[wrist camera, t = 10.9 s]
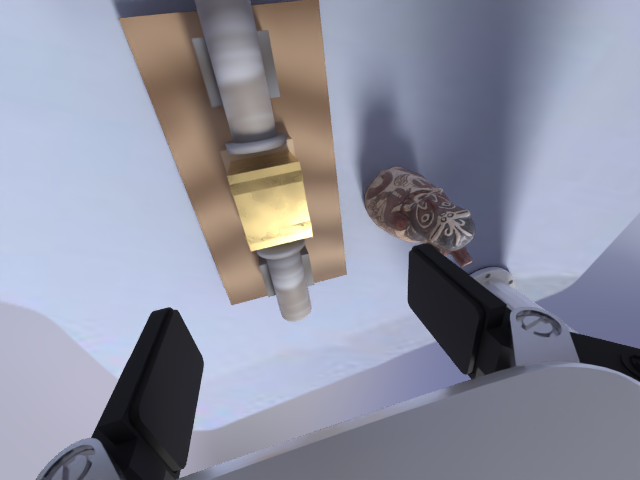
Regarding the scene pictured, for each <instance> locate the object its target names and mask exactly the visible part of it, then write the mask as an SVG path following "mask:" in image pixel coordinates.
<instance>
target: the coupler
mask: <svg viewBox="0 0 640 480" xmlns="http://www.w3.org/2000/svg"><path fill="white" fill-rule="evenodd" d="M227 178H228V181H229V187H230V190H231V193H232V196H233V197H234V200H235V203H236V206H237V209H238V213H239V216H240V219H241V222H242V225H243V228H244V231H245V237H246V240H247V243H248V245H249V247H250V250H251V251H255V250H259V249H263V248H267V247H271V246H275V245H279V244H283V243H287V242H291V241H295V240H299V239H303V238H307V237H311V236H313V235H312V226H311V220H310V218H309V212H308V207H307V201H306V196H305V190H304V184H303V181H304V180H303V175H302V170H301V167H300V162H299V160H298V159H297V158H296V157H295V156H294V155H293V154H292V153H291V152H290V151H289V150H287V151H282V152H277V153H272V154H267V155H261V156H256V157H251V158H246V159H241V160H236V161H231V162H230V165H229V169H228V174H227Z"/></svg>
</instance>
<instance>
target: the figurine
mask: <svg viewBox="0 0 640 480" xmlns="http://www.w3.org/2000/svg"><path fill="white" fill-rule="evenodd" d="M365 205H366V210H367V212H368V214H369V216H370V217H371V219H372V220H373V222H374V223H375V224H376V225H377V226H379V227H380V228H381V229H383V230H384V231H386V232H388V233H389V234H391V235H393V236H395V237H397V238H399V239H402V240H404V241H408V242H423V243H424V244H425V243H428V244H430V245H431V246H432V247H434V248H435V249H436V250H437V251H439V252H440V253H441V254H443V255H446V254H451V255H452V256H453V257H454V258H455V260H456V261H457V262H458V263H459V265H460V266H461V267H463V266H465V265H467V264H469V263H471V262H472V259H471V257H470V256H469V254H468V253H467V251H466V249H465V246H466V245H467V244H469V243H470V242H471V240H472V239H473V238H474V235H475V226H474V223H473V221H472V219H471V214H470V211H469V210H468V209H462V208H460V207H457V206H456V205H454V204H453V203H451V202H450V201H449V199H448V198H447V196H446V195H445V194H444V193H443V189H442V188H441V187H438V188H437V187H435V186H433V185H432V184H431V183H429V182H428V181H427V180H426V179H425V178H424V177H423V176H421V175H420V174H417V173H414V172H412V171H409V170H406V169H404V168H402V167H397V166H395V167H392V168H390V169H387V170H384V171H381V172H380V173H379V175H378V176H377V177H376V178H375V179H374V180H373V182H372V183H371V185H370V186H369V187H368V189H367V191H366V194H365Z"/></svg>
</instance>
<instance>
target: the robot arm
mask: <svg viewBox="0 0 640 480" xmlns="http://www.w3.org/2000/svg"><path fill="white" fill-rule="evenodd" d="M515 288H516V283H515V279H514V277H513V276H512V274H510V273H509V272H508V271H506V270H504V269H502V268H499V267H488V268H484V269H481V270H479V271H476V272H474V273H472V274H471V275H468V274H467V273H466V272H465V271H463V270H462V269H461V268H459V267H458V266H457V265H456V264H454V263H453V262H452V261H450V260H449V259H448V258H447V257H445V256H444V255H443V254H441V253H440V252H439V251H437V250H436V249H435V248H434V247H432V246H431V245H430V244H428V243H425V244H421V245H417V246H414V247H413V248H412V250H411V251H410V252H409V269H408V304H409V306H410V308H411V309H412V310H413V312H414V313H415V314H416V315H417V317H418V318H419V319H420V320H421V322H422V323H423V324H424V325H425V327H426V328H427V329H428V331H429V332H430V333H431V334H432V336H433V337H434V338H435V339H436V341H437V342H438V343H439V344H440V346H441V347H442V348H443V349H444V351H445V352H446V353H447V355H448V356H449V357H450V358H451V360H452V361H453V362H454V363H455V365H456V366H457V367H458V368H459V370H460V371H461V372H462V373H463V374H468V375H469V377H470V378H471V380H468V381H465V382H462V383H458V384H455V385H453V386H449V387H446V388H443V389H440V390H437V391H434V392H431V393H428V394H425V395H422V396H419V397H416V398H413V399H410V400H407V401H404V402H401V403H398V404H395V405H392V406H389V407H386V408H383V409H380V410H377V411H374V412H371V413H368V414H365V415H362V416H359V417H356V418H353V419H350V420H347V421H344V422H341V423H338V424H335V425H333V426H329V427H326V428H323V429H320V430H318V431H314V432H312V433H309V434H306V435H303V436H300V437H297V438H294V439H291V440H288V441H286V442H282V443H279V444H276V445H273V446H271V447H268V448H265V449H262V450H259V451H256V452H253V453H250V454H247V455H244V456H241V457H238V458H236V459H233V460H230V461H227V462H224V463H221V464H218V465H216V466H212V467H210V468H207V469H204V470H202V471H199V472H196V473H193V474H190V475H188V476H185V477H182V478H179V475H180V470H181V469H184V467H185V465H186V462H187V457H188V452H189V446H190V440H191V435H192V429H193V424H194V418H195V412H196V407H197V401H198V395H199V390H200V384H201V378H202V373H203V367H204V362H203V358H202V355H201V353H200V352H199V350H198V348H197V346H196V344H195V342H194V340H193V338H192V336H191V334H190V332H189V330H188V329H187V327H186V325H185V323H184V321H183V319H182V317H181V315H180V313H179V312H178V310H173V309H172V308H170V307H168V308H164V309H160V310H156V311H153V312H152V313H151V314H150V317H149V319H148V321H147V323H146V325H145V327H144V329H143V331H142V333H141V336H140V338H139V340H138V342H137V344H136V346H135V348H134V350H133V352H132V354H131V357H130V358H129V360H128V362H127V364H126V366H125V368H124V370H123V372H122V374H121V376H120V378H119V380H118V383H117V385H116V387H115V389H114V391H113V393H112V395H111V398H110V399H109V401H108V403H107V406H106V408H105V410H104V412H103V414H102V416H101V418H100V420H99V422H98V424H97V427H96V429H95V431H94V433H93V435H92V437H91V438H87V439H83V440H80V441H78V442H76V443H74V444H71V445H70V446H69V447H67V448H66V449H64V450H63V451H61V452H60V453H59V454H58V455H56V456H55V457H54V459H52V460H51V461H50V462H49V463H48V464H47V465H46V466H45V468H44V469H43V470H42V471H41V472H40V474H39V475H38V477H37V478H36V480H640V349H638V348H634V347H630V346H626V345H622V344H618V343H614V342H610V341H606V340H602V339H597V338H593V337H589V336H585V335H581V334H579V333H577V332H576V331H575V330H573V329H572V328H570V327H569V326H567V325H566V324H565V323H564V322H563V321H562V320H561V319H560V318H558V317H557V316H555V315H554V314H552V313H550V312H548V311H546V310H544V309H543V308H541V307H540V306H539V305H537V304H536V303H534V302H533V301H531V300H530V299H529V298H527V297H526V296H524V295H523V294H521V293H520V292H518V291H517V290H516V289H515Z"/></svg>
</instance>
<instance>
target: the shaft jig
mask: <svg viewBox="0 0 640 480" xmlns="http://www.w3.org/2000/svg"><path fill="white" fill-rule="evenodd" d="M194 1H195V5H196V9H197V11H188V12H177V13H167V14H157V15H147V16H136V17H126V18H119V20H120V23H121V25H122V28H123V30H124V33H125V36H126V38H127V41H128V43H129V46H130V48H131V51H132V53H133V56H134V58H135V61H136V63H137V66H138V69H139V71H140V74H141V76H142V79H143V81H144V84H145V86H146V89H147V91H148V94H149V96H150V99H151V102H152V104H153V107H154V109H155V112H156V114H157V117H158V119H159V122H160V124H161V127H162V129H163V132H164V135H165V137H166V140H167V142H168V145H169V147H170V150H171V152H172V155H173V157H174V160H175V162H176V165H177V168H178V170H179V173H180V175H181V178H182V180H183V183H184V185H185V188H186V190H187V193H188V195H189V198H190V201H191V203H192V206H193V208H194V211H195V213H196V216H197V218H198V221H199V223H200V226H201V228H202V231H203V234H204V236H205V239H206V241H207V244H208V246H209V249H210V251H211V254H212V256H213V259H214V261H215V264H216V267H217V269H218V272H219V274H220V277H221V279H222V282H223V284H224V287H225V289H226V292H227V294H228V297H229V300H230V302H231V305H234V304H238V303H242V302H245V301H249V300H253V299H257V298H260V297H264V296H268V297H270V296H274V295H276V297H277V300H278V304H279V307H280V311H281V315H282V317H283V318H284V319H285V320H287V321H291V322H296V321H300V320H303V319H304V318H306V317H307V316H308V315H309V314H310V312H311V309H312V308H311V302H310V297H309V292H308V286H311V285H314V283H317V282H320V281H324V280H328V279H332V278H335V277H339V276H343V275H347V272H346V262H345V253H344V243H343V233H342V223H341V214H340V204H339V194H338V184H337V175H336V165H335V155H334V145H333V136H332V126H331V116H330V106H329V97H328V87H327V77H326V67H325V58H324V48H323V38H322V28H321V19H320V9H319V0H300V1H290V2H280V3H270V4H259V5H251V0H194ZM287 150H289V151H290V152H291V153H292V154H293V155H294V156H295V157H296V158H297V159H298V160H299V162H300V167H301V170H302V175H303V180H304V181H303V184H304V190H305V196H306V201H307V207H308V212H309V218H310V220H311V226H312V235H313V236H311V237H307V238H303V239H299V240H295V241H291V242H287V243H283V244H279V245H275V246H271V247H267V248H263V249H259V250H255V251H251V250H250V247H249V245H248V243H247V240H246V237H245V231H244V228H243V225H242V222H241V219H240V216H239V213H238V209H237V206H236V203H235V200H234V197H233V196H232V193H231V190H230V187H229V181H228V178H227V174H228V169H229V165H230V162H231V161H236V160H241V159H246V158H251V157H256V156H261V155H267V154H272V153H277V152H282V151H287Z"/></svg>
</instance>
